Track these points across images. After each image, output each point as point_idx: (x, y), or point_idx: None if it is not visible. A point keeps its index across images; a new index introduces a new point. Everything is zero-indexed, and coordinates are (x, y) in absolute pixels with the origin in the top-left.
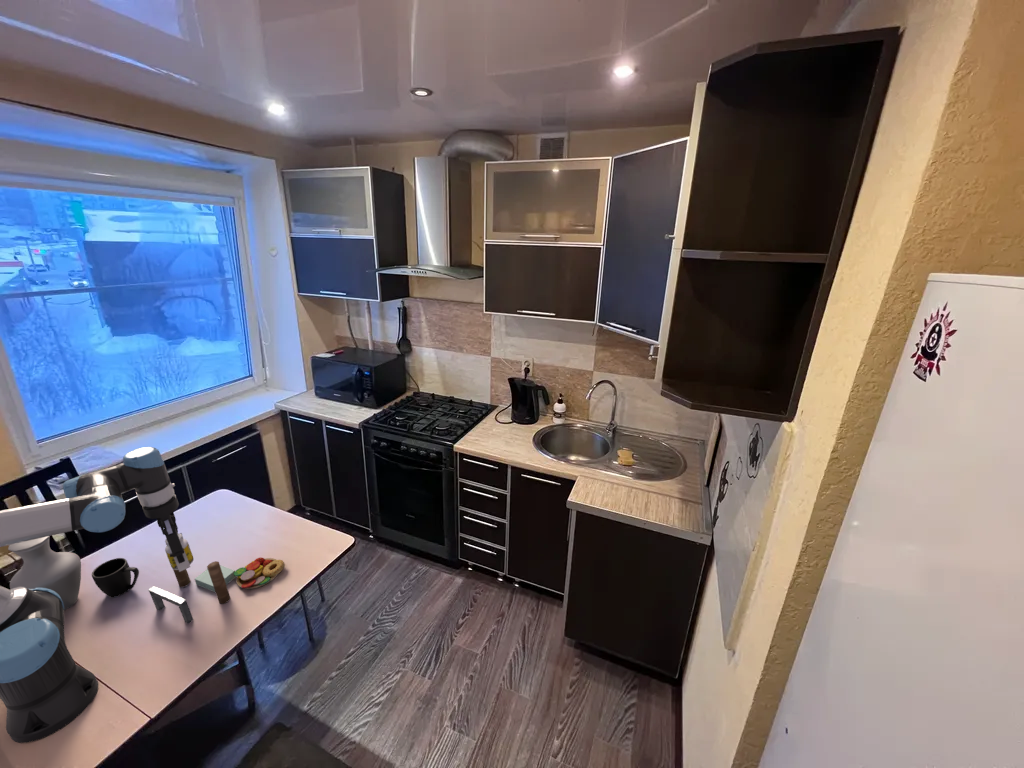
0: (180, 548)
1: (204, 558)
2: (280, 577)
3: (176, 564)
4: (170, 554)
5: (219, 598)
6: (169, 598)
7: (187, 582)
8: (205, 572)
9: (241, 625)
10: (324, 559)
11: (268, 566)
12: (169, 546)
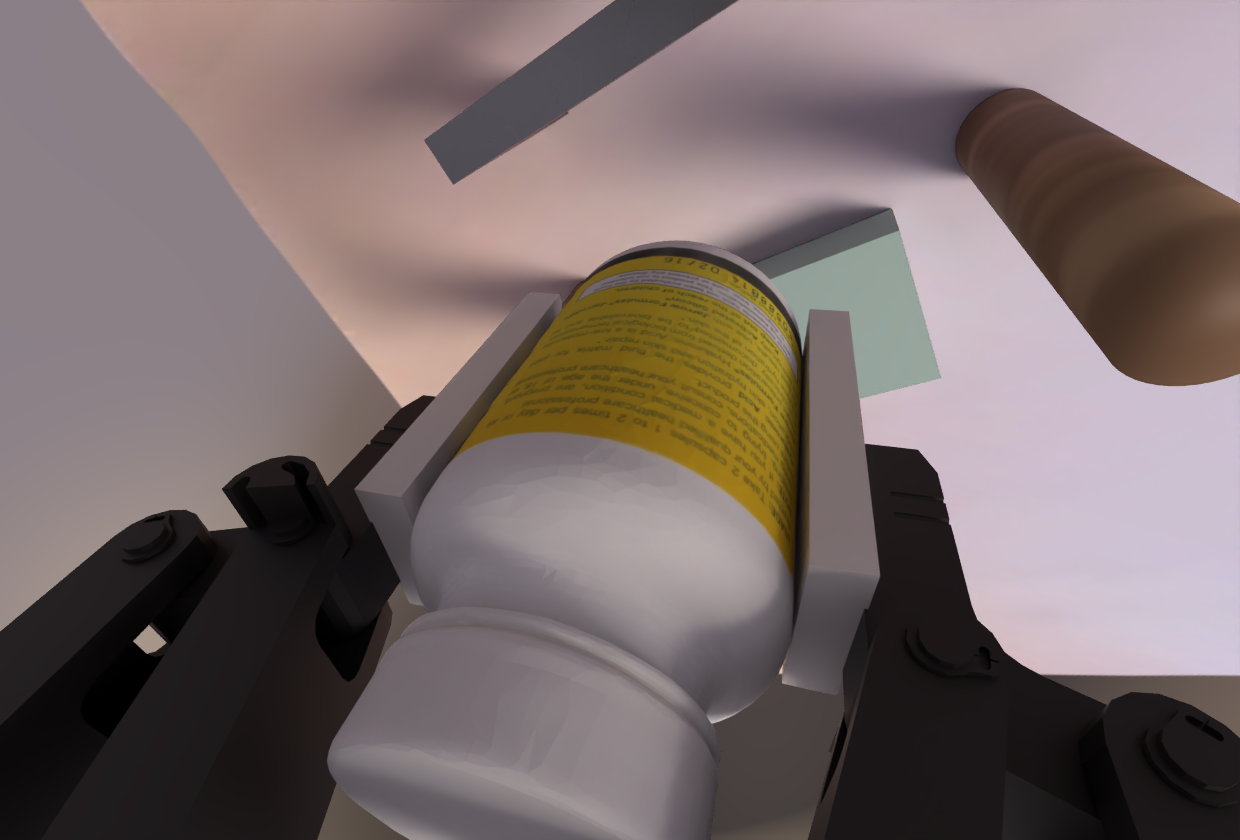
0: (103, 717)
1: None
2: None
3: (474, 356)
4: (292, 497)
5: (562, 305)
6: (548, 56)
7: (962, 163)
8: (899, 306)
9: (380, 315)
10: None
11: None
12: (416, 622)
